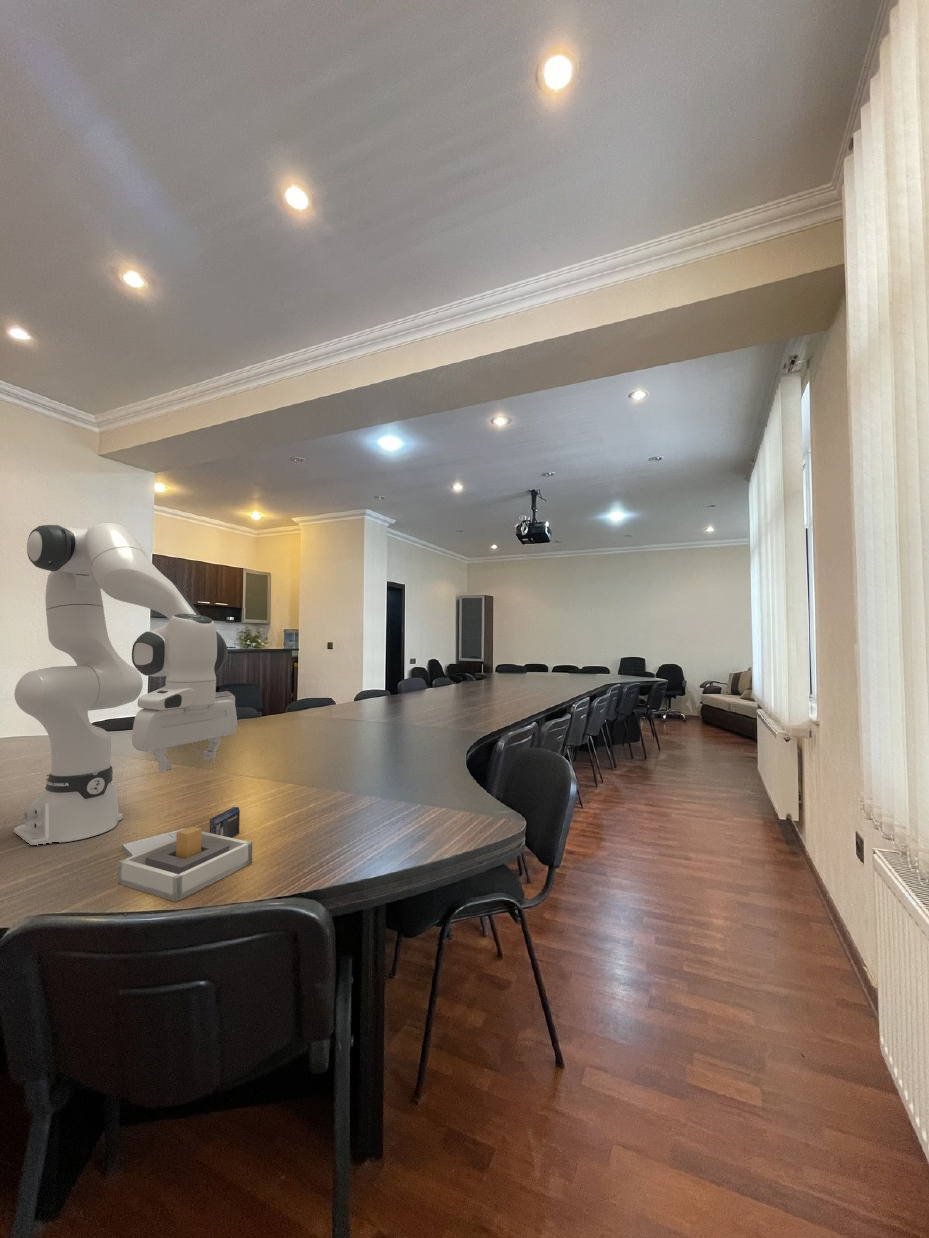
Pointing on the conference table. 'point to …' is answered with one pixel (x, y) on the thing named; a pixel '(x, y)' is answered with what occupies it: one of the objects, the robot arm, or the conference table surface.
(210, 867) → the walled box
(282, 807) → the conference table surface
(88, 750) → the robot arm
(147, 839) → the external hard drive
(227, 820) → the mini dv tape
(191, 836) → the tan rectangular block
